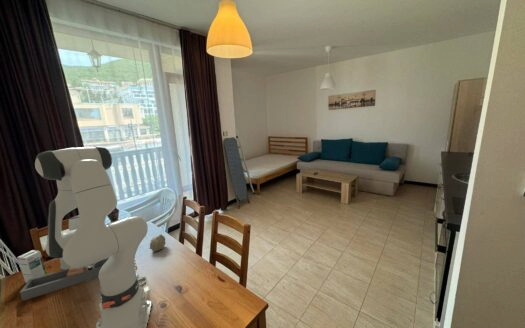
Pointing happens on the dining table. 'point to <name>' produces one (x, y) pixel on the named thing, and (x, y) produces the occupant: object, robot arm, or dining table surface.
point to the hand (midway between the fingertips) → (91, 269)
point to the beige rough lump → (157, 243)
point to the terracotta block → (76, 271)
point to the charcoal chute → (57, 281)
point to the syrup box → (32, 265)
